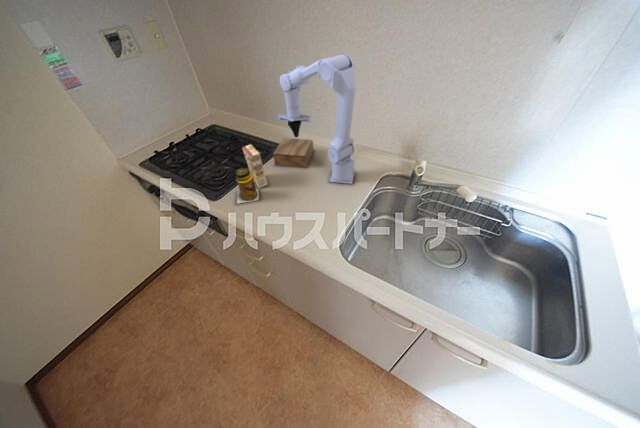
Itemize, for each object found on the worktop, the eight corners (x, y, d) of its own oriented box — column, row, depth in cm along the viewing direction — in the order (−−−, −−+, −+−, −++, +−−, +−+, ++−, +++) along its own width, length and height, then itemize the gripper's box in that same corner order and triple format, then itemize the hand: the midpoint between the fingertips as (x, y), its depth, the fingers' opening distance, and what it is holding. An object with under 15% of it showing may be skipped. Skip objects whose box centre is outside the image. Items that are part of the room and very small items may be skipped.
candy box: (268, 184, 100) (260, 152, 90) (259, 188, 99) (249, 156, 88) (260, 175, 106) (251, 143, 95) (251, 178, 104) (241, 146, 93)
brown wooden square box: (313, 151, 119) (312, 139, 114) (306, 168, 108) (305, 156, 104) (285, 149, 121) (283, 137, 117) (275, 165, 111) (272, 153, 107)
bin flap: (312, 140, 114) (312, 139, 114) (304, 156, 104) (304, 155, 104) (298, 139, 116) (297, 138, 116) (289, 155, 106) (288, 154, 105)
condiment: (259, 200, 94) (251, 175, 85) (237, 204, 93) (227, 179, 84) (258, 189, 99) (251, 164, 90) (237, 192, 98) (228, 168, 89)
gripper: (273, 108, 98) (278, 138, 107) (306, 110, 95) (309, 141, 104) (279, 102, 103) (284, 131, 112) (311, 103, 100) (313, 134, 109)
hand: (296, 136), depth 109 cm, fingers closed
